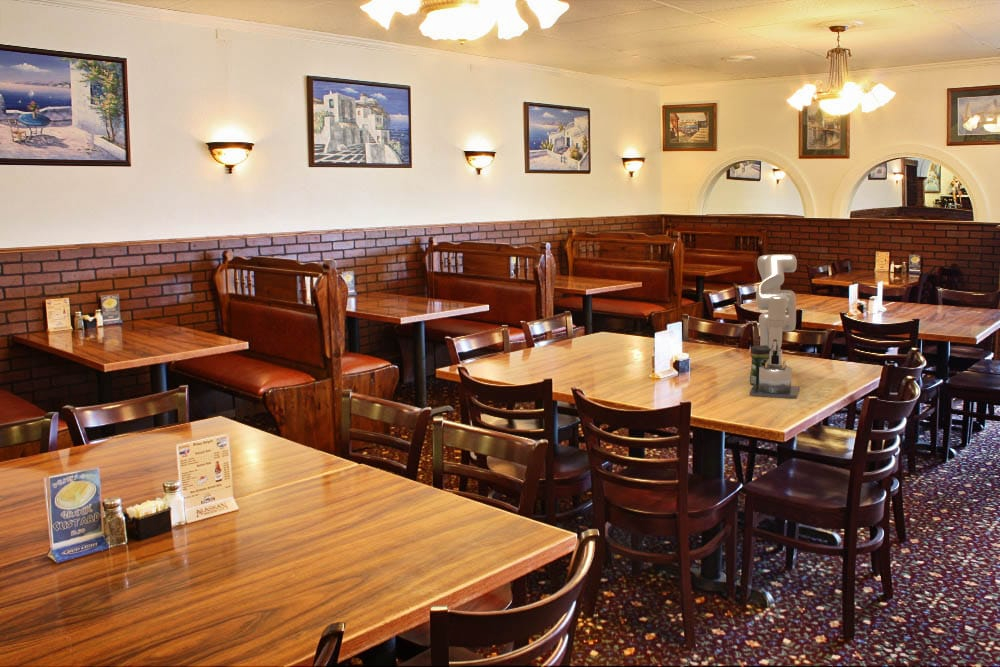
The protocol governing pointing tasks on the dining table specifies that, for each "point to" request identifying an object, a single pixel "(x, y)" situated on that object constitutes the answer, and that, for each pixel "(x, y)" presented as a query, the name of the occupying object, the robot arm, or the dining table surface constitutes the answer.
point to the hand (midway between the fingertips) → (775, 362)
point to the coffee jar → (758, 361)
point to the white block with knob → (779, 357)
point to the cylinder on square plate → (775, 382)
